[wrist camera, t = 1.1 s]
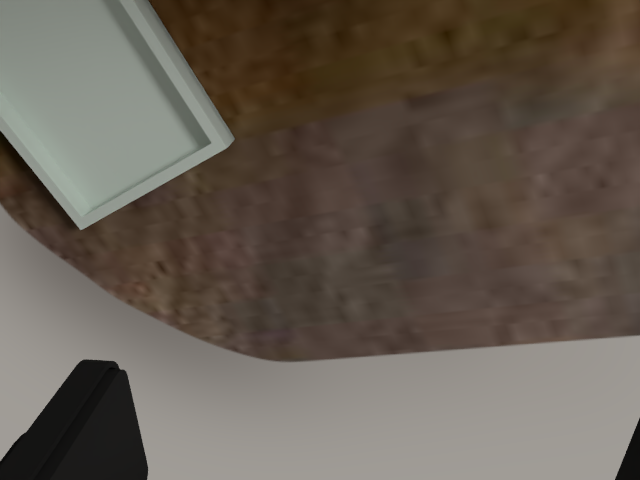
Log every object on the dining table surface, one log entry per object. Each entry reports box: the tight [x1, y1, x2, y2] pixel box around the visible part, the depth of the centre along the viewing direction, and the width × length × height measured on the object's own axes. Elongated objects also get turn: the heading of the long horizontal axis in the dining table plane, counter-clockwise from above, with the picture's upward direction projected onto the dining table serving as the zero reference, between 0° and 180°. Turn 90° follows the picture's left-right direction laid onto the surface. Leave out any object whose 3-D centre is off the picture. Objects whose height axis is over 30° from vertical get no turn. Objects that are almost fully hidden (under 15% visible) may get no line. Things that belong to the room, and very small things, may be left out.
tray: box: [0, 0, 235, 230], centre depth 35 cm, size 20×14×2 cm
